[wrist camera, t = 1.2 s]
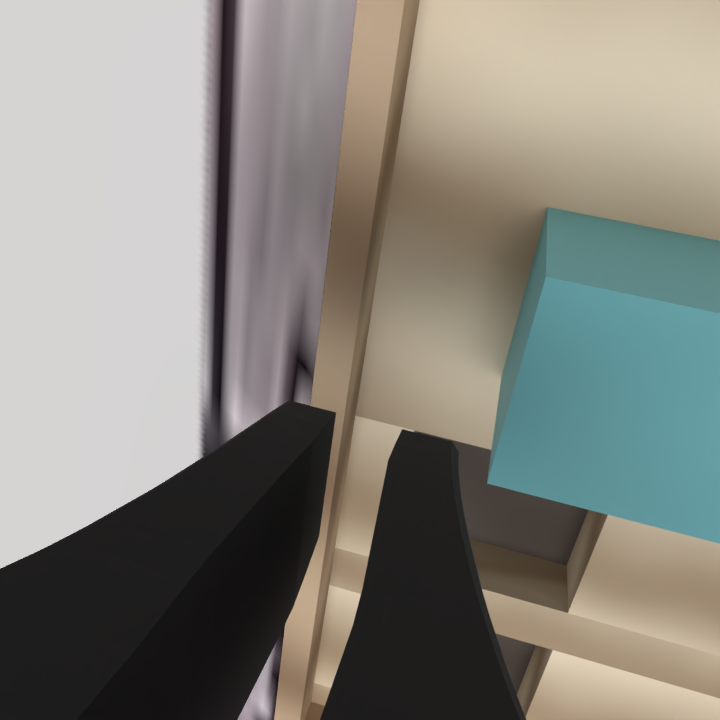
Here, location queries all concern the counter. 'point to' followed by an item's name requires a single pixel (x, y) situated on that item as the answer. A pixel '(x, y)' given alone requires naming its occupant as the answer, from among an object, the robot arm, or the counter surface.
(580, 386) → the block
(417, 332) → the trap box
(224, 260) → the counter surface
